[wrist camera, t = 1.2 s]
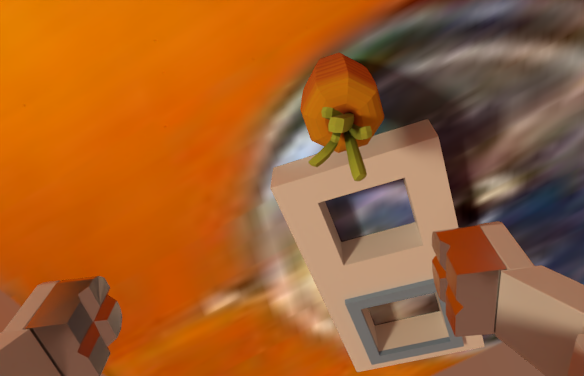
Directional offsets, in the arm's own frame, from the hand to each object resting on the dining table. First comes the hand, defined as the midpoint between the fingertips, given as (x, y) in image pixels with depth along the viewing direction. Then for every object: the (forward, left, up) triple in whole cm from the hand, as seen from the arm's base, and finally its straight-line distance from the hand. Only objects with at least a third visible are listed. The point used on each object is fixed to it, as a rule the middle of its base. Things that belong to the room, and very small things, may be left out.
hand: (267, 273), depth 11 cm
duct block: (-1, +23, -26) cm, 35 cm away
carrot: (-2, +3, -26) cm, 27 cm away
